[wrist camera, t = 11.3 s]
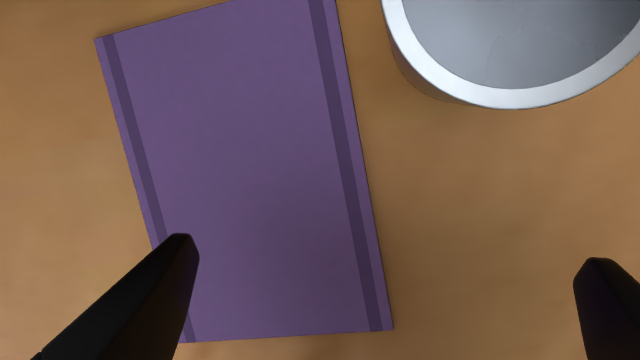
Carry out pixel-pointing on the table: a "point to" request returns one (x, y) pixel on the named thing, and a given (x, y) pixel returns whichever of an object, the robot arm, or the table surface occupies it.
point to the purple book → (252, 165)
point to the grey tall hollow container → (511, 48)
